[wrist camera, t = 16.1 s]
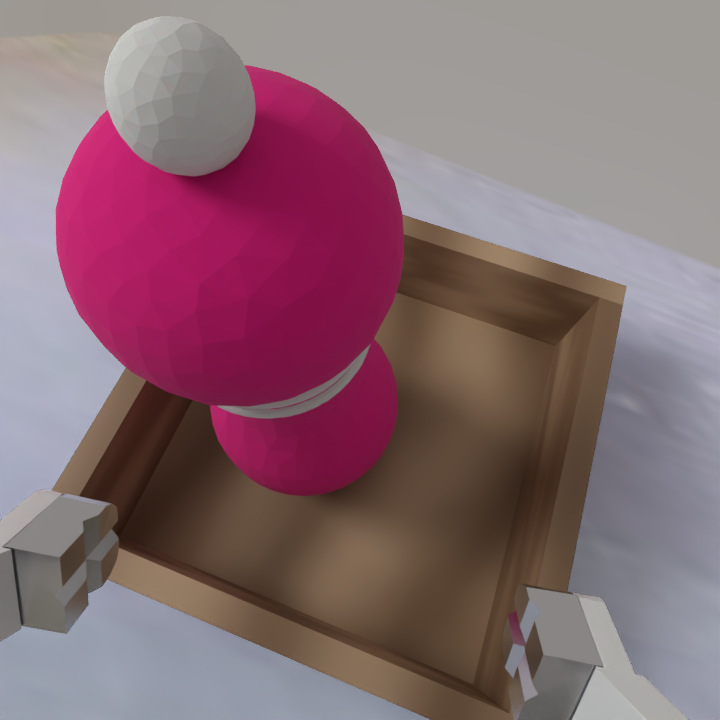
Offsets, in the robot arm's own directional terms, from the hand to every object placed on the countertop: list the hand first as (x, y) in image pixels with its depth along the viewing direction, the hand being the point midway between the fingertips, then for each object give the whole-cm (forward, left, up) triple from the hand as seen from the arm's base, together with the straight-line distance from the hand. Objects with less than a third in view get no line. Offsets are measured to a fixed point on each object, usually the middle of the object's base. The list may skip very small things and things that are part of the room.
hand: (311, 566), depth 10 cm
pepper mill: (-3, +6, -13) cm, 14 cm away
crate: (-1, +6, -14) cm, 15 cm away
